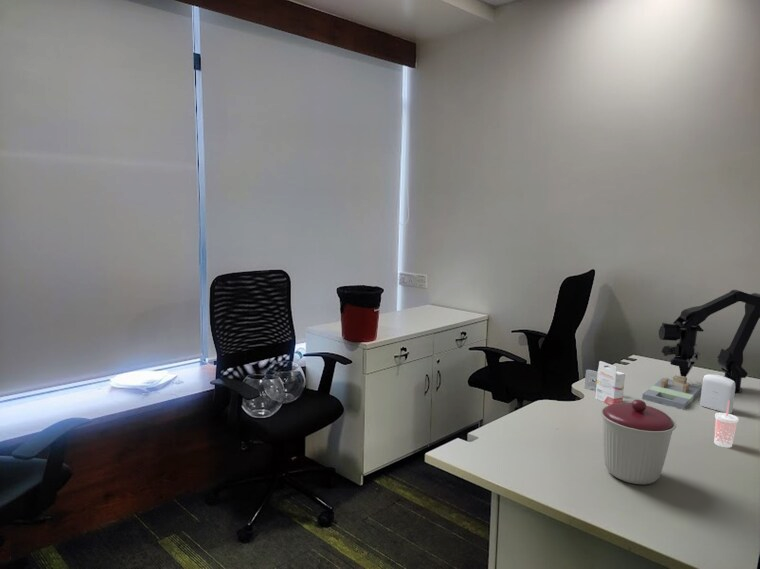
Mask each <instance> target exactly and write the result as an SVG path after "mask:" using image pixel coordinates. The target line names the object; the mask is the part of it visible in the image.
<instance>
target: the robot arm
mask: <svg viewBox="0 0 760 569" xmlns="http://www.w3.org/2000/svg"><path fill="white" fill-rule="evenodd" d="M738 302H741V303H745V304H744V316H743V317H742V320H741V322H740V324H739V326H738V328H737V330H736V332H735V334H734V337H733V339H732V341H731V343H730V345H729V347H727V348H726V349H724V348H721V349H720V351H719V352H720V353H719V354H718V356H717V357H716V358H717V364H718V366H720V367H721V371H722V372H724V376H723V377H726V378H729V379H731V380H733V381H734V382H735V393H738V394H740V393H741V392H742V390H743V387H741V385H742V380H743V379H746V377H747V376H748V372H747V371H746V370H745V369H744V367H743V363H744V351H745V349H746V347H747V345H748V342H749V341H750V339H751V336H752V334H753V332H754V329H755V328H756V327H757V325H758V321H759V320H760V293H756V292H753V293H747V292H744V291H742V290H738V289H733V290H732V289H731V290H730V291H729V292H727V293H725V294H723V295H721V296H718V297H717V298H714V299H713V300H710V301H708V302H706V303H704V304H701V305H697V306H691V307H687V308H685V309H683V310H682V311H681V312H680V315H679V316H678V317H677V318H676V319H675V320H674V321H673V323H667V322H662V323H661V326H660V327H659V329H658V337H659V339H660V340H661V341H675V342H676V341H677V343H676V344H673V345H663V347H661V353H663V356H664V357H665V356H667V357H668V356H670V355H674V357H673V358H671V359H670V365H672V366H676V367H678V369H679V373H680V374H679V376H684V377H688V374H689V373H690V371H691V370H692V368H693V367H694V366H695V364H696V362H695V361H693V360H692V359H694V358H695V360H696V361H698V360H699V359H700V357H701V353H700V352H699V351H696V348H697V347H698V344H697V338H698V332H701V333H702V332H704V331H705V330H704V329H703V328H702V327H701V324H702V323H703V322H704V321H706V320H707V318H709V316H711V315H713V314H715V313H717V312H719V311H721V310H724V309H726V308H728V307H730V306H732V305H735V304H736V303H738ZM678 340H679V341H678Z"/></svg>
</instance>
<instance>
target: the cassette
mask: <svg viewBox="0 0 760 569" xmlns="http://www.w3.org/2000/svg"><path fill="white" fill-rule="evenodd" d="M597 374H598V370H597V371H596V370H591V369H586V370H585V378H584V389H586V390H588V391H593V392H596V385H597Z"/></svg>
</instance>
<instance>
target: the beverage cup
mask: <svg viewBox="0 0 760 569" xmlns="http://www.w3.org/2000/svg"><path fill="white" fill-rule="evenodd" d="M729 404H730V401H728V404H727V412H726V413H725V412H716V413H715V414H714V418H715V423H714V439H713V443H714V444H715V445H716V446H718V447H722V448H728V449H729V448H732V447H733V442H734V439H735V433H736V429H737V424H738V423H739V420H740V419H739V417H738V416H736V415H733V414H732V413H728V411H729Z"/></svg>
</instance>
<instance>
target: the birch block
mask: <svg viewBox="0 0 760 569" xmlns="http://www.w3.org/2000/svg"><path fill="white" fill-rule="evenodd" d="M672 380H673V383H672V384H673V385H677V386H681V387H683V386H684V385H685V384H686V383H688V382H687V381H688V376H686V377H684V376H681V375H680V374H675V375H674V376H673V377H672Z"/></svg>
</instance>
